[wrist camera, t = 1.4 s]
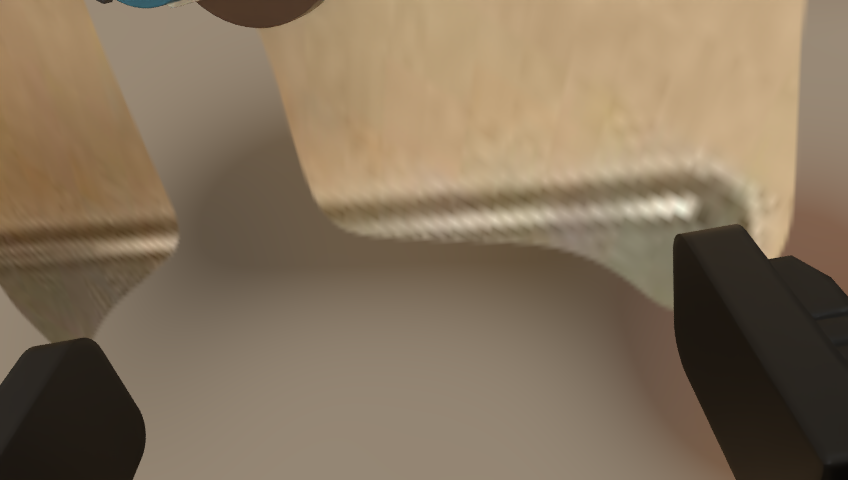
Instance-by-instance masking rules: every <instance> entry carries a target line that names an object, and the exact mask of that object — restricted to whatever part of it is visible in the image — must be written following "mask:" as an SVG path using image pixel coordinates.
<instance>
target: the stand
mask: <svg viewBox="0 0 848 480" xmlns="http://www.w3.org/2000/svg"><path fill="white" fill-rule="evenodd" d="M323 1H324V0H199V1H196V2H197V3H198V4H199V5H201V6H202V7H203V8H204V9H206V10H207V11H209V12H210V13H212V14H213V15H215V16H217V17H219V18H221V19H223V20H225V21H228V22H230V23H233V24H236V25H240V26H245V27H253V28H268V27H274V26H279V25H282V24H285V23H288V22H290V21H293V20H295V19H297V18H299V17H301V16H303V15H305V14H307V13H309V12H311V11H312V10H314V9H315V8H316V7H317V6H319V5H320V4H321V3H322V2H323Z"/></svg>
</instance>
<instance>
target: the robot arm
mask: <svg viewBox="0 0 848 480" xmlns="http://www.w3.org/2000/svg"><path fill="white" fill-rule="evenodd" d="M673 275H674V329H675V337H676V343H677V348H678V352H679V355H680V359H681V362H682V365H683V368H684V371H685V373H686V375H687V377H688V379H689V381H690V383H691V386H692V388H693V390H694V392H695V394H696V396H697V398H698V400H699V403H700V404H701V407H702V409H703V411H704V413H705V415H706V417H707V419H708V421H709V424H710V426H711V428H712V430H713V432H714V434H715V436H716V439H717V441H718V443H719V445H720V447H721V449H722V451H723V453H724V455H725V457H726V460H727V462H728V464H729V466H730V468H731V470H732V472H733V474H734V477H735V479H736V480H848V296H847V295H846V294H845V293H844V292H843V291H842V289H841V288H840V287H839V286H838V285H837V284H836V283H835V281H834V280H833V279H832V278H831V277H829V276H828V275H826V274H824V273H822V272H820V271H819V270H817V269H815V268H813V267H811V266H810V265H808V264H806V263H804V262H802V261H801V260H799V259H797V258H795V257H793V256H785V257H779V258H773V259H768V258H767V257H766V256H765V255H764V253H763V252H762V251H761V249H760V248H759V247H758V245H757V244H756V243H755V242H754V240H753V239H752V238H751V236H750V235H749V234H748V232H747V231H746V230H745V229H744V228H743V227H742V226H741V225H739V224H733V225H728V226H722V227H716V228H711V229H705V230H699V231H694V232H688V233H682V234H677V235H676V237H675V239H674V245H673ZM145 437H146V433H145V424H144V420H143V417H142V414H141V412H140V410H139V408H138V407H137V405H136V403H135V402H134V400H133V399H132V397H131V395H130V394H129V392H128V391H127V389H126V387H125V386H124V384H123V383H122V381H121V379H120V378H119V376H118V375H117V373H116V371H115V370H114V368H113V367H112V365H111V363H110V362H109V360H108V359H107V357H106V355H105V354H104V352H103V351H102V349H101V348H100V346H99V345H98V344H97V343H96V342H95V341H93V340H92V339H89V338H79V339H73V340H68V341H62V342H56V343H51V344H45V345H40V346H34V347H31V348H29V349H28V350H26V351H25V352H24V353H23V354H22V355H21V357H20V358H19V360H18V361H17V363H16V364H15V365H14V367H13V368H12V369H11V371H10V372H9V374H8V375H7V377H6V378H5V379H4V381H3V382H2V383H1V385H0V480H133V477H134V475H135V473H136V470H137V468H138V465H139V463H140V461H141V458H142V456H143V453H144V448H145V440H146V438H145Z"/></svg>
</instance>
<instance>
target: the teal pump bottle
mask: <svg viewBox="0 0 848 480" xmlns="http://www.w3.org/2000/svg"><path fill="white" fill-rule="evenodd" d="M97 1H99V2H101V3H103V4H105V3H109V2H112V1H113V0H97ZM117 1H119V2H121V3H124V4H126V5H129V6H133V7H138V8H154V7H159V6H163V5H167V6H169V7H171V8H175V7H178V6H182V5H185V4H188V3H192V2H196V1H199V0H117Z"/></svg>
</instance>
